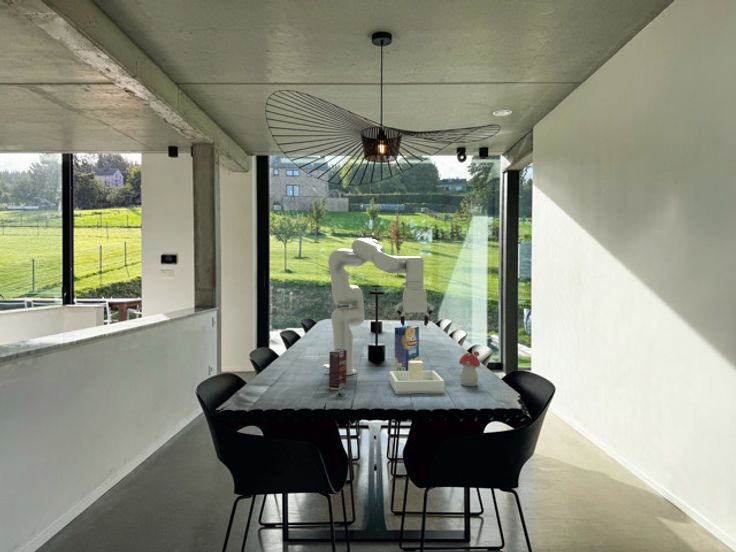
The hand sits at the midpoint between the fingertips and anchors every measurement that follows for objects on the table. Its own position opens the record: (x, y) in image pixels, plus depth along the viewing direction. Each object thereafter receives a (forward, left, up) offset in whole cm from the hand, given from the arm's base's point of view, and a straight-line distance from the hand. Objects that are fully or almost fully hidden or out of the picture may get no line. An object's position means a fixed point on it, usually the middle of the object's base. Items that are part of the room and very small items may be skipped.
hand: (414, 325), depth 231 cm
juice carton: (0, -1, -25) cm, 25 cm away
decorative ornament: (+24, +2, -27) cm, 36 cm away
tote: (0, -1, -26) cm, 26 cm away
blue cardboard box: (+1, +33, -27) cm, 42 cm away
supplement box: (-33, +1, -27) cm, 42 cm away
